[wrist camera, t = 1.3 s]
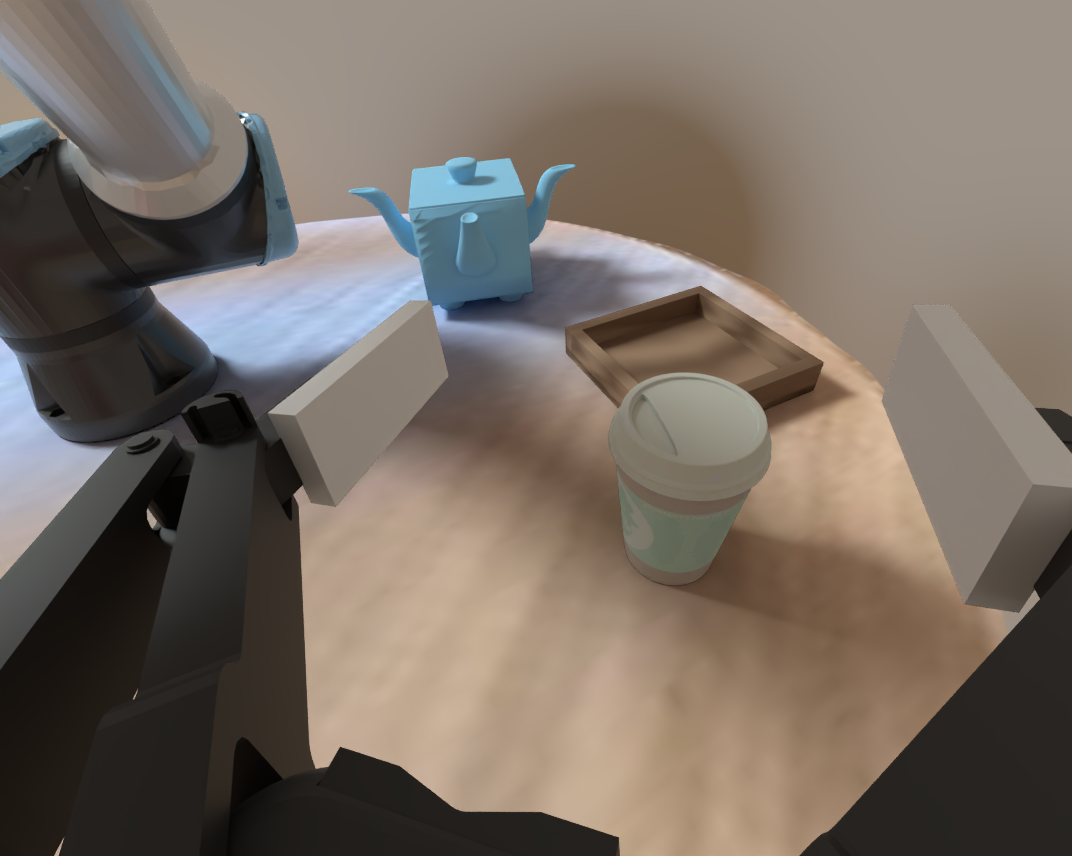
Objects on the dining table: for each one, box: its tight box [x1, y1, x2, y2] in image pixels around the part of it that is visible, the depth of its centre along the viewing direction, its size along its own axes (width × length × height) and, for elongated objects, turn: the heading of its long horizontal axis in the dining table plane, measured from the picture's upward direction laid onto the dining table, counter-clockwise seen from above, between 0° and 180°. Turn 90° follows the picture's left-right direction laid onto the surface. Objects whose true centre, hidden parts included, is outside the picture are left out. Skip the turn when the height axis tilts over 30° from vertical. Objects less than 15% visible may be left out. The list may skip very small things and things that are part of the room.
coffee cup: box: [609, 373, 771, 585], centre depth 31 cm, size 8×8×12 cm
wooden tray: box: [565, 286, 824, 410], centre depth 49 cm, size 16×16×3 cm
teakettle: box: [349, 157, 575, 310], centre depth 60 cm, size 19×19×15 cm
